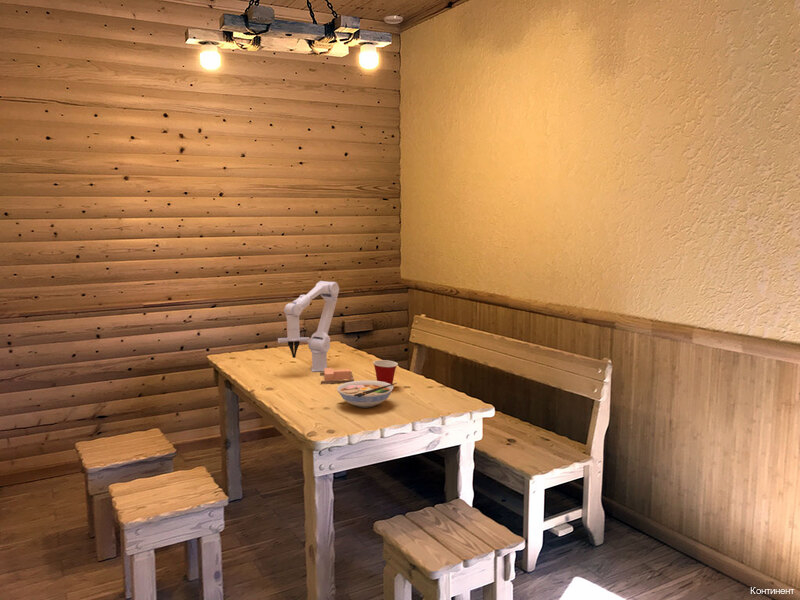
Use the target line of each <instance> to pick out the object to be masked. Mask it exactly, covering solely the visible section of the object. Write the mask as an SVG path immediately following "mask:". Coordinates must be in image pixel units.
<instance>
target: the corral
mask: <svg viewBox="0 0 800 600" xmlns="http://www.w3.org/2000/svg"><path fill="white" fill-rule="evenodd" d="M319 376H324V371H321V372H319ZM352 381H355V379H354V375H353V372H352V371H351V379H350V380H334V381H325V380H320V384H321V385H332V384H333V385H334V384H335V383H338V384H344V383H347V382H352Z"/></svg>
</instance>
